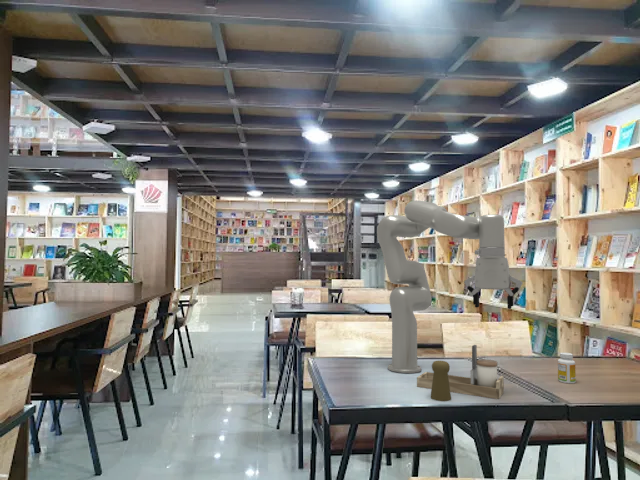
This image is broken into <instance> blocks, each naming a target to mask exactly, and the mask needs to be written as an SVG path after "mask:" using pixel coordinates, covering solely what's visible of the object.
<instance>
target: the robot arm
mask: <svg viewBox="0 0 640 480" xmlns="http://www.w3.org/2000/svg"><path fill="white" fill-rule="evenodd" d="M403 210H404V211H403V212H404V215H395V214H394V215H393V214H391V215H386V216H384V217H382V218H381V220H380V221H379V222H378V225H377V228H376V236H377V242H378V243H379V246H380V249H381V252H382V256H383V259H384V265H385V270H386V274H387V277H388V280H389V281H390V283H392V284H394V285H408V286H399V287H396V288H394V289H392V291H391V292H390V294H389V299H388V301H389V306H390V312H391V363H390V364H388V365H387V369H388V370H389V371H391V372H394V373H398V374H399V373H401V374H414V373H415V374H416V373H420V372H422V367H421V365H418V359H419V358H418V322H417V317H416V316H415V313H414V312H416V311H417V312H420V311H426V310H427V309H428V308H430V307H431V304H432V293H431V289H430V285H429V281H428V277H427V274H426V270H425V268H424V266H423V265H422V264H421V262H418V261H416V260H408V259H407V256H406V253H405V249H404V247H403V245H402V244H401V243H402V242H400V240H398V238H409V239H410V238H415V237H417V236H419V235H420V234H422V233H424V232H426V230H428V229H433V230H434V231H436V232H437V233H440V234H443V235H446V236H449V237H452V238H455V239H464V240H465V239H466V240H478V243H479V247H478V249H475V250H474V255H477V256H479V257H476V261H475V266H474V267H475V268H474V269H475V270H474V275H473V276H472V277H469V278H466V279H465V280H463V281H464V285H465V286H466V289H467V290H468V291H469V292H470V293H471V294H472V298H473V299H472V301H473V303H472V304H473V305H474V308H477V309H478V308H479V307H480V294H479V292H480V291H481V290H494V291H495V290H499V291H500V290H504V291H505V292H506V293H507V296H506V297H507V298H506V300H507V309H508V310H511V309H512V307H514V296H515V295H516V294H517V293H518V292H519V290H520V289H521V287H523V286H522V285H523V281H521V280H520V279H518V278H515V277H513V276H512V275H511V273H510V265H509V260H508V257H506V251H505V250H506V249H505V245H506V244H505V241H506V240H505V218H504V216H503V215H501V214H496V213H495V214H492V213H491V214H484V215H481V216H480V217H479V216H478V217H477V216H470V215H463V214H457V213H453V212H450V211H449V212H448V209H446V207H445V206H441V205H438V204H436V203H435V202H432V201H423V200H411V201H410V202H408V203H407V204H406V206H405V207H404V209H403ZM472 282H474V286H475V288H474V287H473V286H472V285H471V283H472ZM511 282H512V283H514V284H516V285H515V287H514V288H513V289H512V288H510V287H511Z"/></svg>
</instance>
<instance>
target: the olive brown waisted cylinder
mask: <svg viewBox="0 0 640 480" xmlns="http://www.w3.org/2000/svg"><path fill="white" fill-rule="evenodd" d="M450 367H451V366H450V364H449V362H447V361H444V360H434V361H433V362H432V364H431V369H432V371H433V373H434V374H433V382H432V389H430V390H431V391H430V399H432V400H434V401H438V402H450V401H451V400H452V396H451V392H450V386H449V379H448V375H449V371H450Z"/></svg>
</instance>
